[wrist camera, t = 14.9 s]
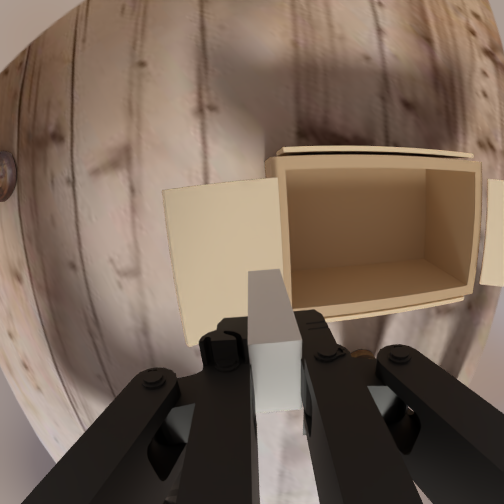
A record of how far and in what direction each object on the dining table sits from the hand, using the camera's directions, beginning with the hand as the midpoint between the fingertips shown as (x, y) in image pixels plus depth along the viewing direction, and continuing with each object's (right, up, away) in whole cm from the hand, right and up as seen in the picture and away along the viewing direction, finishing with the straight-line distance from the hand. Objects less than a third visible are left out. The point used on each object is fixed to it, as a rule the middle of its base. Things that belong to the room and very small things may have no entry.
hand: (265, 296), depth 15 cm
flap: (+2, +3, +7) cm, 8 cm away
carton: (+11, +6, +18) cm, 22 cm away
